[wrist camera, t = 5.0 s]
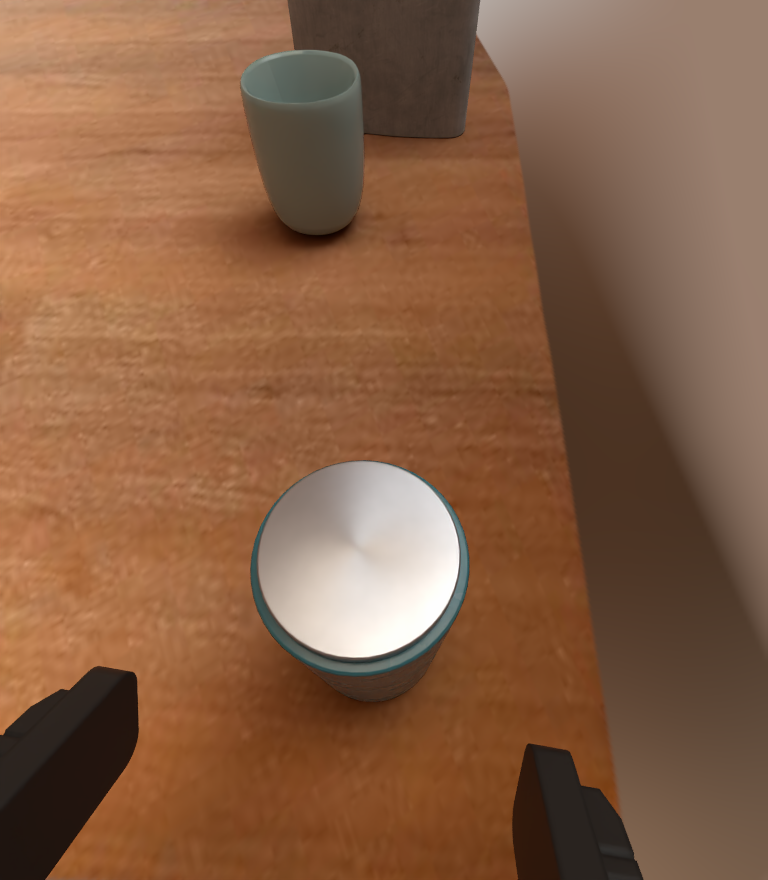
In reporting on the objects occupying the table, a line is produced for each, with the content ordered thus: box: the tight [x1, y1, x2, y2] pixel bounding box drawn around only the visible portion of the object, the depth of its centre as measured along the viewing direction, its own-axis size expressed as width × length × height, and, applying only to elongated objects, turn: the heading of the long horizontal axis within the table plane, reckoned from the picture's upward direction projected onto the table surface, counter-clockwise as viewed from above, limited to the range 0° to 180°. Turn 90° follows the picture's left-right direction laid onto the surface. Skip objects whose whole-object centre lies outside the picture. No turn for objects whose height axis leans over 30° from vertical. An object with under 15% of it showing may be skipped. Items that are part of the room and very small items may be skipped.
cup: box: [240, 50, 365, 235], centre depth 35 cm, size 8×8×10 cm
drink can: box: [250, 460, 469, 702], centre depth 18 cm, size 6×6×12 cm
